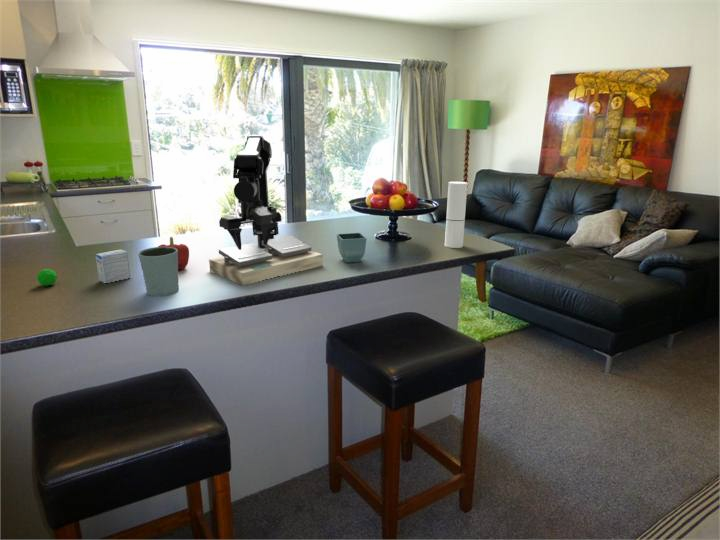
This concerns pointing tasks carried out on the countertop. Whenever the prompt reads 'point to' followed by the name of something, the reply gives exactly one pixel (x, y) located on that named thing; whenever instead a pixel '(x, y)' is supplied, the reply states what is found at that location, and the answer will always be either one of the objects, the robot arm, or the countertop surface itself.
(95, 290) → the countertop surface
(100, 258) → the medicine box
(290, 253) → the rocker right
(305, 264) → the switch unit
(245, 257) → the rocker left
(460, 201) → the white tall block
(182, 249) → the vegetable
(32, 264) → the countertop surface
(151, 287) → the grey-green cup
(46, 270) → the polyhedron
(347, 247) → the flower pot
